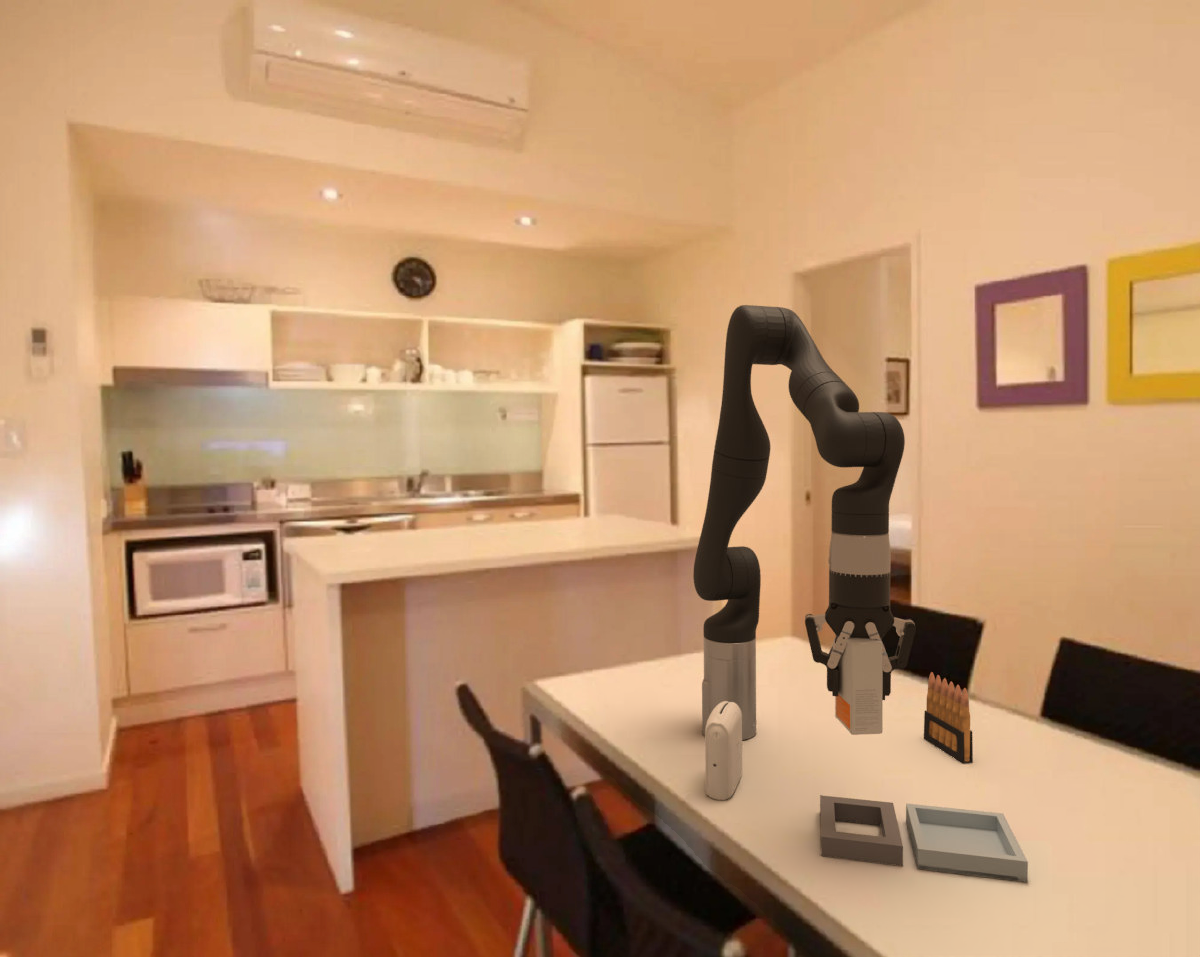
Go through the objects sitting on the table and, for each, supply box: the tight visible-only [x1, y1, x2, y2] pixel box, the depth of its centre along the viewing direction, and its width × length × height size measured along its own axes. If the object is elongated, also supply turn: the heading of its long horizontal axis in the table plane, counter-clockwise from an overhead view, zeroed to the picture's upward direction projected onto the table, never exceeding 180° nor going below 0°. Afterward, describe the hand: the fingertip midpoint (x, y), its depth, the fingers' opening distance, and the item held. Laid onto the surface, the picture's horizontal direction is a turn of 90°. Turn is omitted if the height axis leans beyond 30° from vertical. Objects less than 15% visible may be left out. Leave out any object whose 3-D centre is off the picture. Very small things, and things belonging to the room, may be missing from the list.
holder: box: [819, 794, 904, 867], centre depth 101 cm, size 10×12×2 cm
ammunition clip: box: [923, 671, 974, 764], centre depth 128 cm, size 11×2×12 cm, turn 10°
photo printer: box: [704, 701, 743, 801], centre depth 117 cm, size 10×4×12 cm, turn 158°
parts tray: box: [905, 803, 1029, 883], centre depth 98 cm, size 12×12×2 cm
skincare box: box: [834, 633, 884, 736], centre depth 100 cm, size 6×4×12 cm
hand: (858, 695), depth 100 cm, fingers closed on skincare box, 5 cm apart
